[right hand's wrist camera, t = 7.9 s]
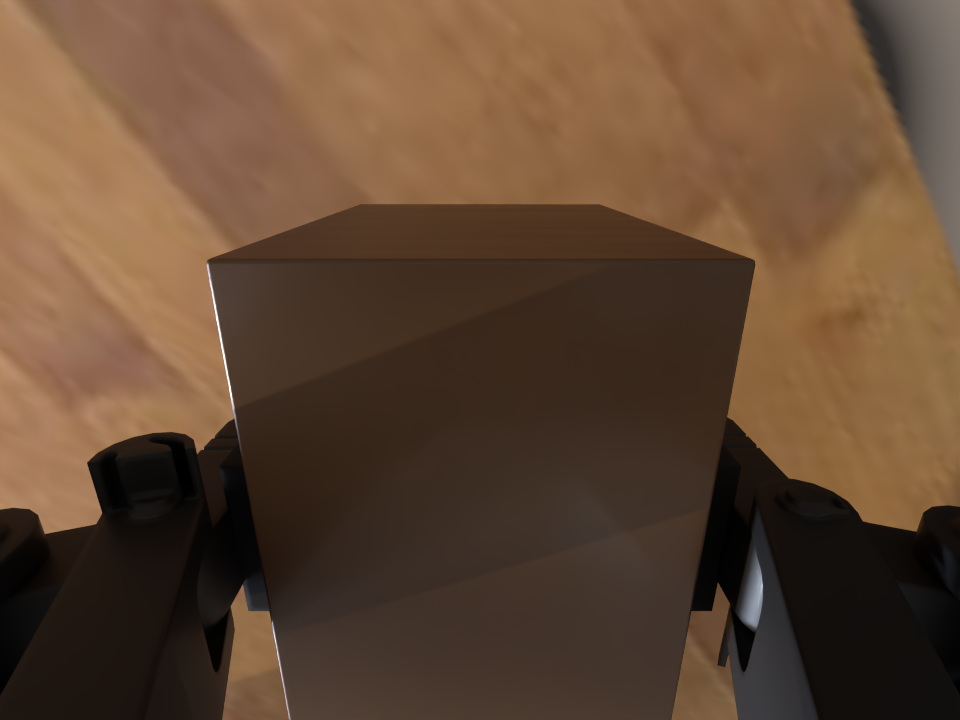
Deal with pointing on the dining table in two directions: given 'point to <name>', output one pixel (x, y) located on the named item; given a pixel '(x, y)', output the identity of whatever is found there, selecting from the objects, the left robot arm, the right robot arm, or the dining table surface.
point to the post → (480, 453)
